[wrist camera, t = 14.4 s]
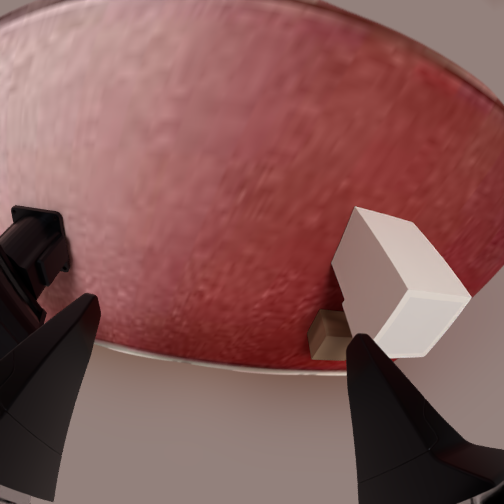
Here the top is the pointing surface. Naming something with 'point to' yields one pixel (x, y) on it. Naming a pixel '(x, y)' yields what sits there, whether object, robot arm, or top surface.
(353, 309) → the white notched block
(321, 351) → the walnut block
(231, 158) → the top surface
